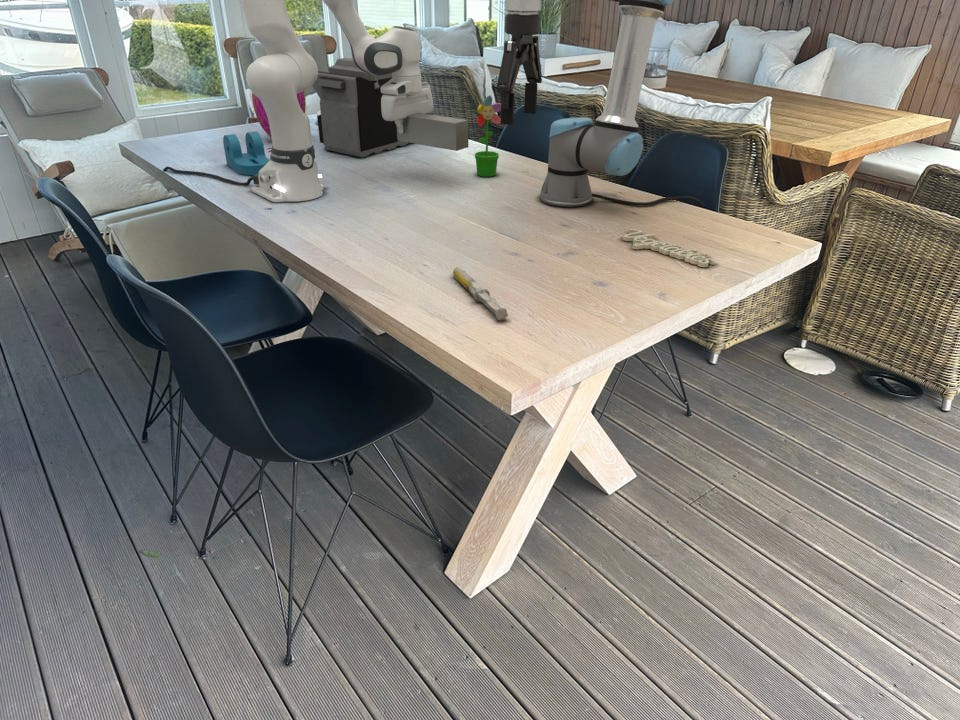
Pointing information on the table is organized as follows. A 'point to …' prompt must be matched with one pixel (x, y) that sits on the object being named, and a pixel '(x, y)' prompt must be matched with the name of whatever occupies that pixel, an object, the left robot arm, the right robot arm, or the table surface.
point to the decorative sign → (667, 248)
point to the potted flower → (487, 159)
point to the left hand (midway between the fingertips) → (409, 131)
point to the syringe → (479, 293)
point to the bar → (435, 131)
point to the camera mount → (245, 161)
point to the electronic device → (353, 111)
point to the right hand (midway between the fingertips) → (518, 118)
